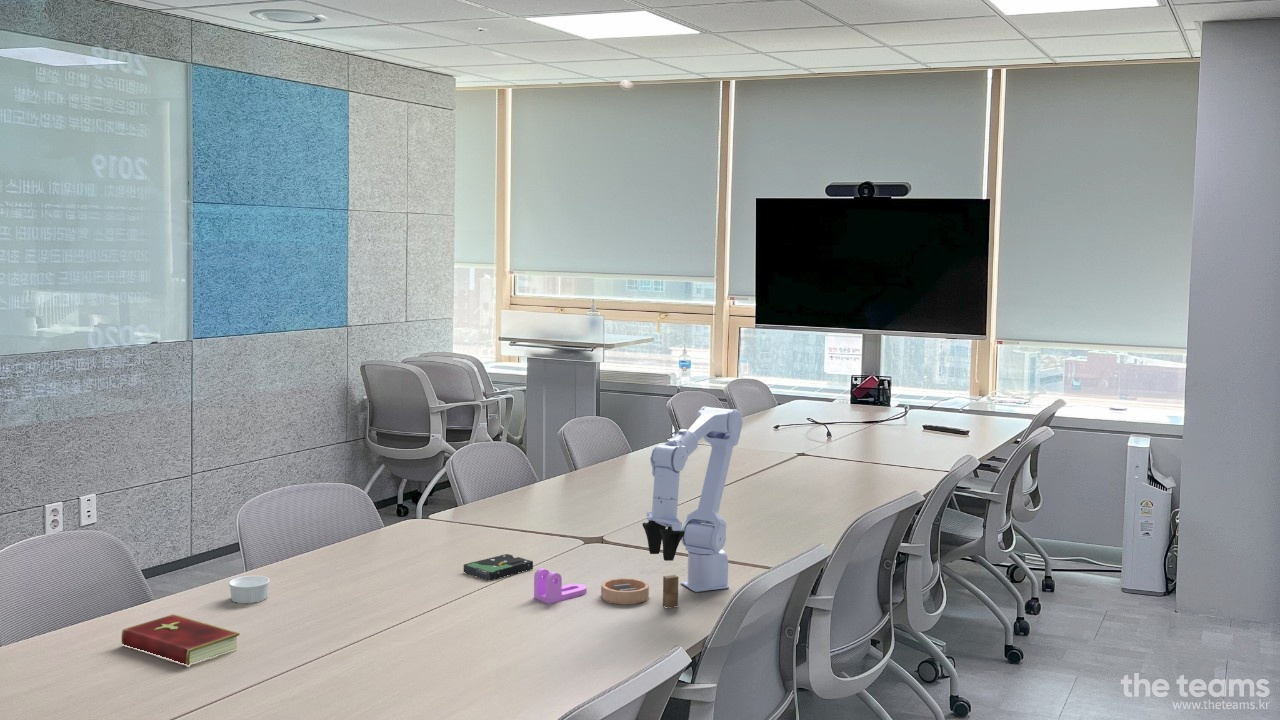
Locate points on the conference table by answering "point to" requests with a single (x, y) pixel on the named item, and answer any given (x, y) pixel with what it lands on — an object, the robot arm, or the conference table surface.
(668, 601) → the long tan beam
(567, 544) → the conference table surface
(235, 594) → the ramekin
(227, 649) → the hardcover book
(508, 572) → the disk drive
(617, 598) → the round tan tray
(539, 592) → the bracket
